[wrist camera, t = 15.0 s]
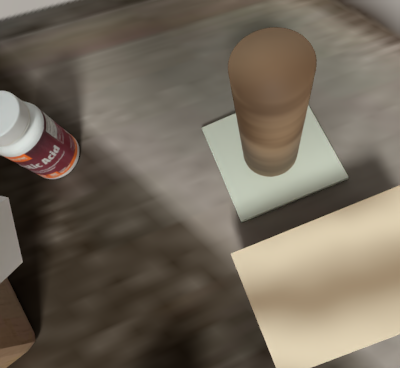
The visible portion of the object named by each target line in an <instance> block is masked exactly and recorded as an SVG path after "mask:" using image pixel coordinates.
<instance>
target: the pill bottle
mask: <svg viewBox="0 0 400 368" xmlns="http://www.w3.org/2000/svg"><path fill="white" fill-rule="evenodd" d="M0 155H1V156H3V157H5V158H7V159H9V160H11V161H13V162H15V163H17V164H19V165H20V166H22V167H24V168H26V169H28V170H30V171H32V172H34V173H36V174H38V175H40V176H42V177H44V178H47V179H57V178H61V177H63V176H65V175H67V174H68V173H70V172H71V171H72V169H73V168H74V167H75V165H76V164H77V162H78V159H79V145H78V142H77V140H76V139H75V138H74V137H73V136H72V135H71V134H69V133H68V132H67V131H66V130H64V129H63V128H62V127H61V126H59V125H58V124H57V123H56V122H55V121H53V120H52V119H51V118H50V117H49V116H47V115H46V114H45V113H44V112H43V111H41V110H40V109H39V108H38V107H37V106H35V105H34V104H31V103H29V102H24V101H22V100H20V99H19V98H18V97H16V96H15V95H14V94H12V93H10V92H7V91H0Z"/></svg>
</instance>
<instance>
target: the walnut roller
mask: <svg viewBox="0 0 400 368" xmlns="http://www.w3.org/2000/svg"><path fill="white" fill-rule="evenodd" d="M316 61H317V60H316V55H315V51H314V49H313V47H312V45H311V44H310V42H309V41H308V40H307V39H306V38H305V37H303V36H302V35H301V34H299V33H297V32H295V31H293V30H290V29H286V28H279V27H271V28H264V29H260V30H258V31H255V32H253V33H251V34H249V35H247V36H246V37H244V38H243V39H242V40H241V41H240V42H239V43H238V44H237V45H236V46H235V48H234V49H233V51H232V53H231V55H230V58H229V62H228V73H229V79H230V84H231V90H232V95H233V101H234V106H235V112H236V117H237V123H238V128H239V134H240V139H241V145H242V150H243V156H244V160H245V162H246V164H247V166H248V167H249V168H250V169H251V170H252V171H253V172H255V173H257V174H259V175H262V176H266V177H274V176H278V175H281V174H283V173H285V172H287V171H288V170H289V169H290V168H291V167H292V166H293V165H294V163H295V161H296V158H297V154H298V150H299V145H300V140H301V136H302V131H303V126H304V122H305V117H306V113H307V108H308V103H309V99H310V94H311V89H312V85H313V80H314V75H315V71H316Z"/></svg>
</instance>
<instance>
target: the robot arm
mask: <svg viewBox="0 0 400 368" xmlns="http://www.w3.org/2000/svg"><path fill="white" fill-rule="evenodd" d="M22 262H23V261H22V256H21V252H20V247H19V243H18V238H17V234H16V229H15V225H14V220H13V216H12V211H11V207H10V202H9V198H8V197H4V196H0V283H1V282H2V281H3V280H4V279H6V278H7V277H8V276H9V275H10V274H11V273H12V272H13V271H14V270H15V269H16V268H17V267H18V266H19V265H20V264H21V263H22Z"/></svg>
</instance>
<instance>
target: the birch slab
mask: <svg viewBox="0 0 400 368" xmlns="http://www.w3.org/2000/svg"><path fill="white" fill-rule="evenodd" d="M231 256H232V258H233V261H234V263H235V266H236V268H237V271H238V273H239V276H240V278H241V281H242V283H243V286H244V288H245V291H246V293H247V296H248V299H249V301H250V304H251V306H252V309H253V311H254V314H255V316H256V319H257V321H258V324H259V326H260V329H261V331H262V334H263V336H264V339H265V341H266V344H267V346H268V349H269V351H270V354H271V356H272V359H273V361H274V364H275V366H276V368H311V367H314V366H317V365H319V364H322V363H325V362H327V361H330V360H333V359H335V358H338V357H341V356H343V355H346V354H349V353H351V352H354V351H356V350H359V349H362V348H364V347H367V346H370V345H372V344H375V343H378V342H380V341H383V340H386V339H388V338H391V337H394V336H396V335H399V334H400V185H399V186H397V187H394V188H392V189H389V190H387V191H384V192H382V193H379V194H377V195H374V196H372V197H370V198H367V199H365V200H362V201H360V202H357V203H355V204H352V205H350V206H347V207H345V208H342V209H340V210H337V211H335V212H332V213H330V214H328V215H325V216H323V217H320V218H318V219H315V220H313V221H310V222H308V223H305V224H303V225H300V226H298V227H295V228H293V229H290V230H288V231H286V232H283V233H281V234H278V235H276V236H273V237H271V238H268V239H266V240H263V241H261V242H258V243H256V244H253V245H251V246H248V247H246V248H244V249H241V250H239V251H236V252H234V253H231Z"/></svg>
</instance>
